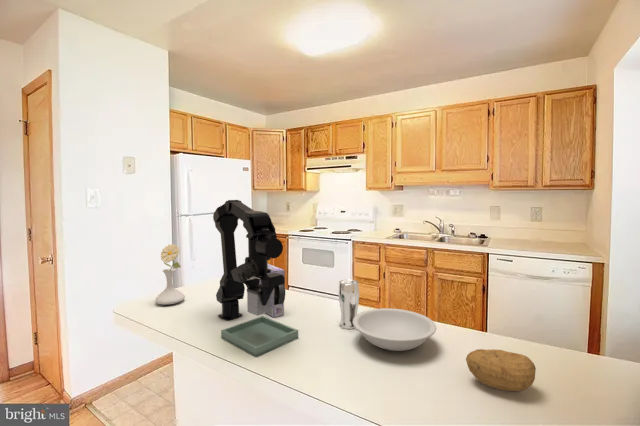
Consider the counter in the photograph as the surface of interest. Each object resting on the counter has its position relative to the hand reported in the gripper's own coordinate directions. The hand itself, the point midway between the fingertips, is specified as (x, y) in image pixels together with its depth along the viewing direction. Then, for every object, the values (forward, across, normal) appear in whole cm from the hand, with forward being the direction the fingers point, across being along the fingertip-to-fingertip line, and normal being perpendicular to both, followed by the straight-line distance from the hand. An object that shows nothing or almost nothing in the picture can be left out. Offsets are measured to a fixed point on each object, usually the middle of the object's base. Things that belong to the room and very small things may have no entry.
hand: (258, 303), depth 100 cm
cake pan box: (+11, -17, +17) cm, 27 cm away
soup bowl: (+11, +33, +24) cm, 42 cm away
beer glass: (+11, +15, +26) cm, 32 cm away
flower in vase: (+11, -55, -4) cm, 56 cm away
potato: (+11, +62, +21) cm, 66 cm away
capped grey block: (+2, 0, 0) cm, 2 cm away
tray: (+11, 0, 0) cm, 11 cm away
